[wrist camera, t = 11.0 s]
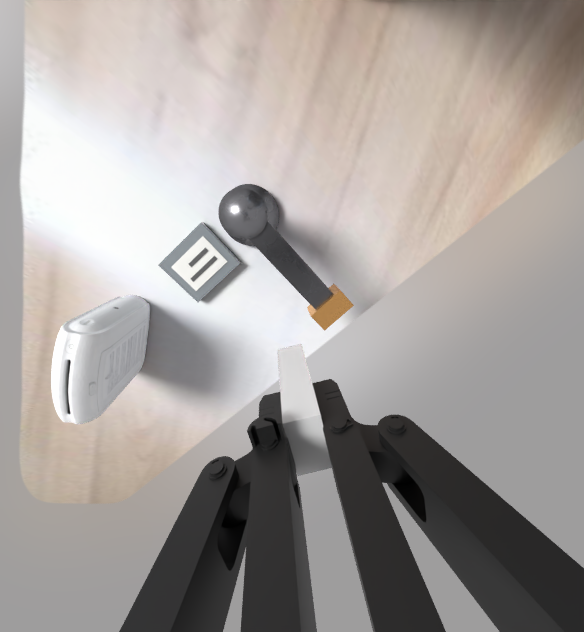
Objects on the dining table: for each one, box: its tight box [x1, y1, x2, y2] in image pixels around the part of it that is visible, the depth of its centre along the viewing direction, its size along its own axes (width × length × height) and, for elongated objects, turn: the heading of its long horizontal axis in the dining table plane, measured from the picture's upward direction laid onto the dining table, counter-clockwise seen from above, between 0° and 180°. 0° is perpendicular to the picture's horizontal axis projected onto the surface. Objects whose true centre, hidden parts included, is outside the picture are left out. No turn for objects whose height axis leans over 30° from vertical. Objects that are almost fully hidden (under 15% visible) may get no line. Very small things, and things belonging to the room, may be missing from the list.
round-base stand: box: [228, 184, 279, 245], centre depth 29 cm, size 6×6×7 cm
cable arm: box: [219, 188, 354, 330], centre depth 26 cm, size 14×4×3 cm, turn 43°
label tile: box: [159, 222, 241, 302], centre depth 33 cm, size 7×6×1 cm
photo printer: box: [51, 295, 150, 424], centre depth 30 cm, size 10×4×12 cm, turn 165°
